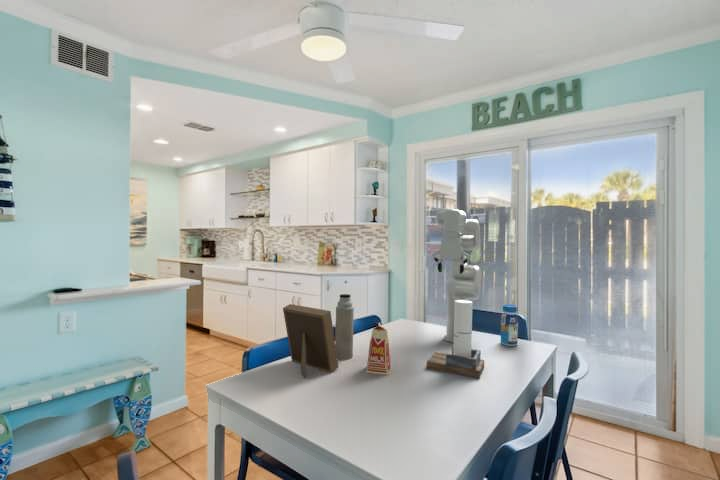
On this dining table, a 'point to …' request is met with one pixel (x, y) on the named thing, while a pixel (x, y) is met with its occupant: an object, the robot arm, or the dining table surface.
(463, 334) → the cylindrical container
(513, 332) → the beverage bottle
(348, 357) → the thermos bottle
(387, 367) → the milk carton
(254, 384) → the dining table surface
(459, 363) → the dock
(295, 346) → the photo frame
